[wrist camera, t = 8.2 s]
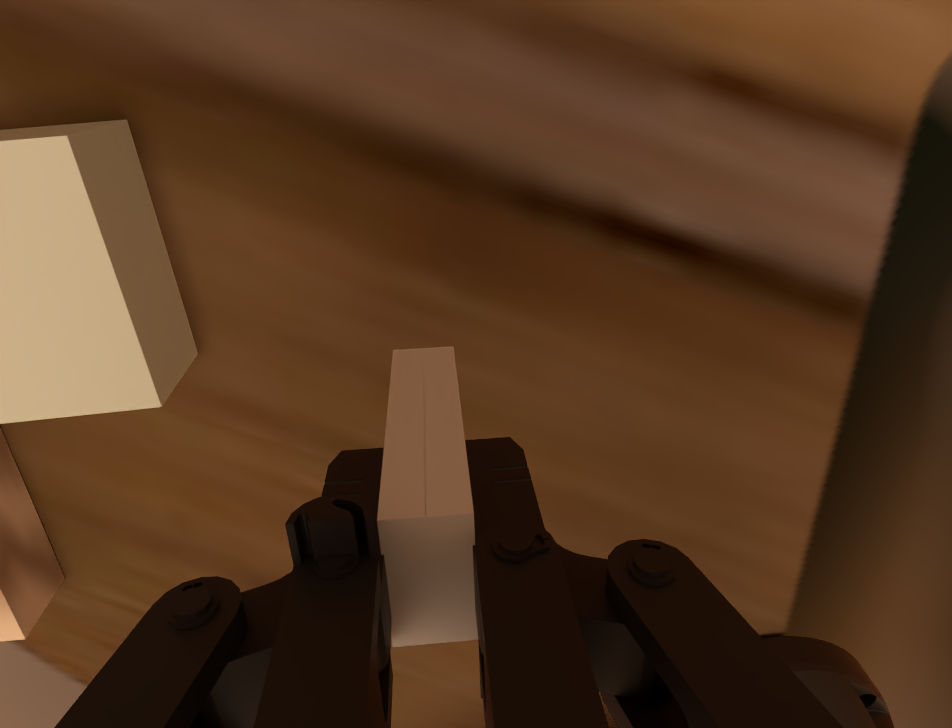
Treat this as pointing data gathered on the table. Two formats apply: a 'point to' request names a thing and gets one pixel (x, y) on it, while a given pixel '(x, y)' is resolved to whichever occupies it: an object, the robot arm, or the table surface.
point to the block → (83, 278)
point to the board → (22, 555)
